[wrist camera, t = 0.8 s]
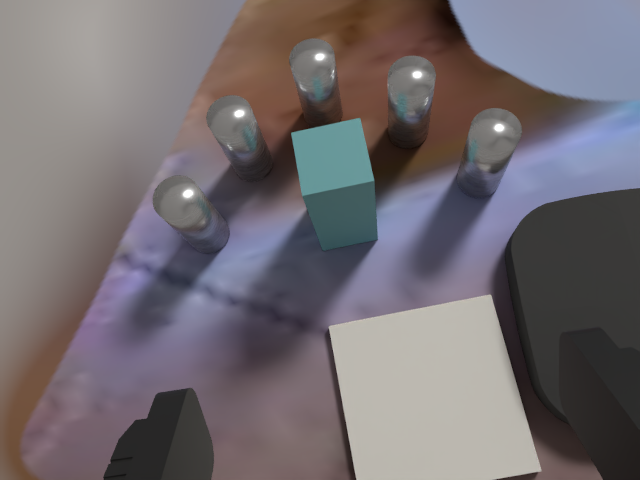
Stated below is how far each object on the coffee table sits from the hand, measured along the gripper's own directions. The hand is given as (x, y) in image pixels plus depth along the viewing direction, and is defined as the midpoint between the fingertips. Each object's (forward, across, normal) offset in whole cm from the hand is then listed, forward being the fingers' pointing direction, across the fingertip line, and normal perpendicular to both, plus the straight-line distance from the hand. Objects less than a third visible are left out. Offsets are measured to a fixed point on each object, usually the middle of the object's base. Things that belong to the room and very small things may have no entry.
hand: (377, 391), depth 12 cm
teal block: (+28, 0, +8) cm, 29 cm away
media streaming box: (+21, -17, +14) cm, 31 cm away
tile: (+18, -3, +17) cm, 25 cm away
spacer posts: (+31, 0, +4) cm, 31 cm away
